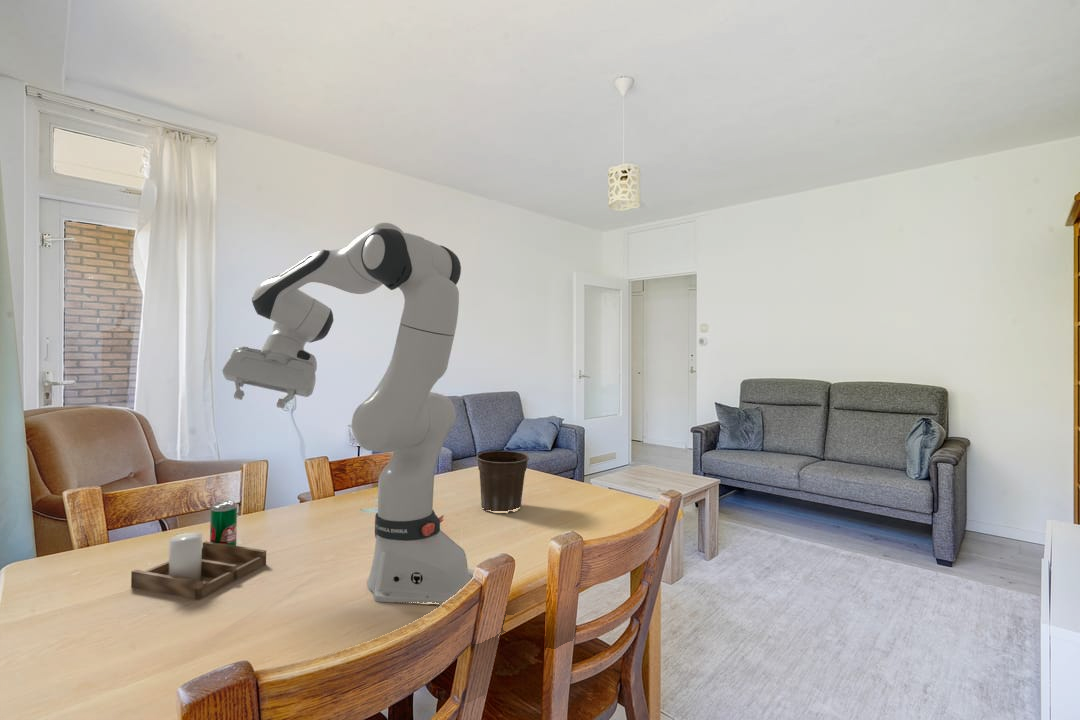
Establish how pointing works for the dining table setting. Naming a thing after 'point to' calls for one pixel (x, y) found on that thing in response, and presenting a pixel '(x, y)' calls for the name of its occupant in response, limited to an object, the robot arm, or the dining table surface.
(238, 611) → the dining table surface
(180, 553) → the white rounded cylinder
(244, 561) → the divided compartment tray
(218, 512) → the soda can
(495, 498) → the plant pot
